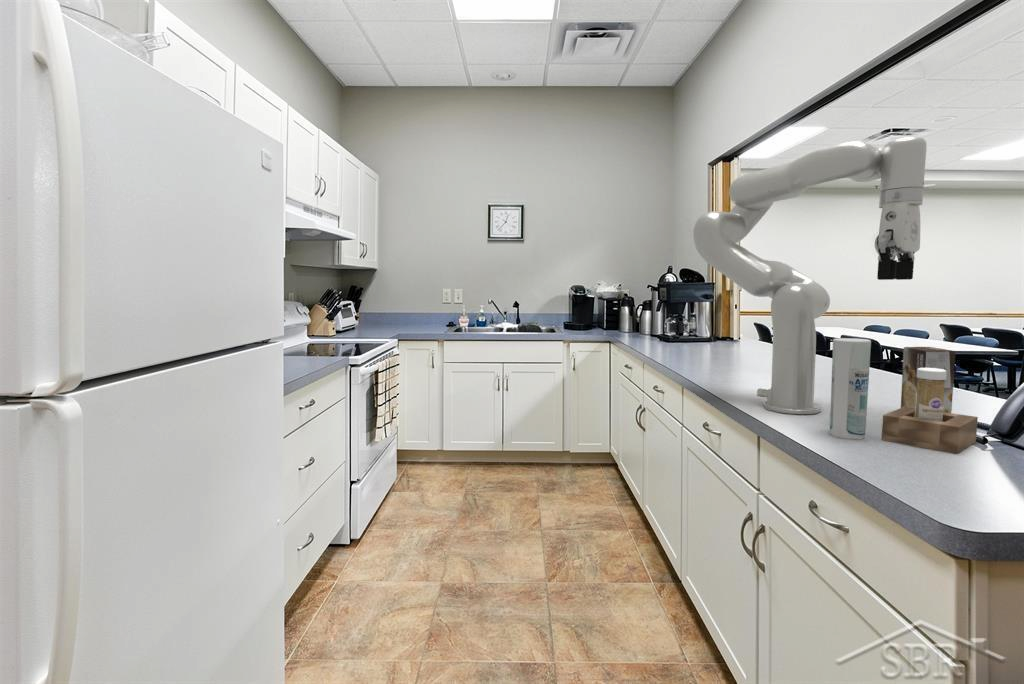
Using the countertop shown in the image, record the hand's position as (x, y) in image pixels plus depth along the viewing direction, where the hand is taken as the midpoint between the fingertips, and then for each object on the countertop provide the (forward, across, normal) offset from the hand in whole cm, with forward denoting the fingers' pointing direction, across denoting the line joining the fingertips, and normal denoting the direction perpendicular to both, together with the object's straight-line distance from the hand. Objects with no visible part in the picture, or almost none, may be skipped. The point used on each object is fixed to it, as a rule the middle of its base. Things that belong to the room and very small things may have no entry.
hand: (895, 279), depth 114 cm
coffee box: (+32, +15, -3) cm, 36 cm away
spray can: (+32, -17, +1) cm, 36 cm away
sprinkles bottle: (+31, -9, -10) cm, 34 cm away
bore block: (+32, -9, -10) cm, 35 cm away
